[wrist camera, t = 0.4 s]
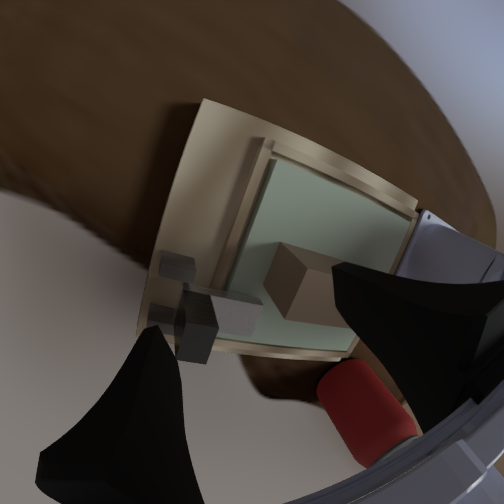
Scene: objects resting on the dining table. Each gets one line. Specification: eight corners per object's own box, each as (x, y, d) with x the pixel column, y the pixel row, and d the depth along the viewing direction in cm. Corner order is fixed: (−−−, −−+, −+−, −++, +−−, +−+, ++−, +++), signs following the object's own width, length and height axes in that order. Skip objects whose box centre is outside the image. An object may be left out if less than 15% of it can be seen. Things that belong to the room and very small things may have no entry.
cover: (402, 218, 21) (447, 239, 16) (341, 344, 24) (370, 380, 19) (271, 158, 17) (308, 165, 12) (210, 327, 20) (222, 377, 15)
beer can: (345, 397, 31) (393, 468, 20) (303, 397, 29) (350, 482, 18) (374, 357, 29) (435, 427, 19) (334, 353, 27) (398, 440, 16)
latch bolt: (259, 297, 18) (281, 337, 14) (246, 328, 19) (264, 370, 15) (182, 281, 16) (186, 322, 13) (173, 314, 17) (175, 359, 13)
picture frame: (402, 195, 22) (435, 206, 19) (330, 348, 27) (349, 374, 23) (201, 103, 16) (207, 92, 12) (137, 320, 20) (133, 354, 17)
